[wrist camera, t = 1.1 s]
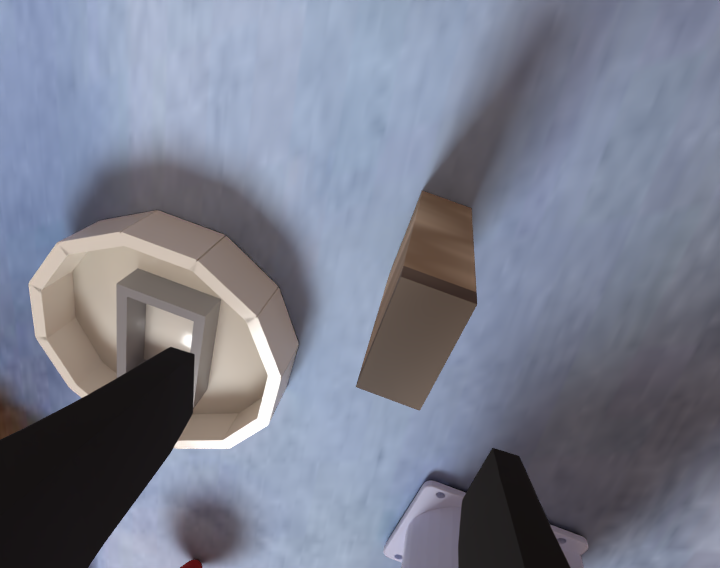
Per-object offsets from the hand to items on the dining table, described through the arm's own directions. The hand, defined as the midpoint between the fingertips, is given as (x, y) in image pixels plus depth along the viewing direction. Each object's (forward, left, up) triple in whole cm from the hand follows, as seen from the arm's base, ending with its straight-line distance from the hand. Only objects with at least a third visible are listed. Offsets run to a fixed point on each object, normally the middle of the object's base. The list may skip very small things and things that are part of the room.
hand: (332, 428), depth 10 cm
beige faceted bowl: (+9, +8, -10) cm, 15 cm away
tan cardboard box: (-1, -1, -10) cm, 10 cm away
